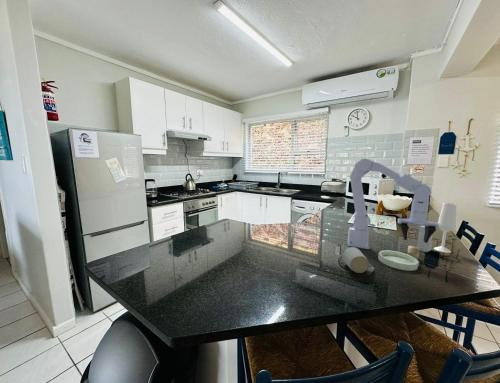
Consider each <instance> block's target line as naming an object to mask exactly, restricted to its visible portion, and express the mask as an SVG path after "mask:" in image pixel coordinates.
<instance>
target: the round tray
mask: <svg viewBox="0 0 500 383" xmlns="http://www.w3.org/2000/svg"><path fill="white" fill-rule="evenodd" d="M377 257H378V258H377V259H378V261H379V262H380V263H381V264H383V265H385V266H387V267H390V268H392V269H397V270H399V271H400V270H401V271H405V272H407V271H408V272H411V271H412V272H413V271H414V272H415V271H417V270H418V268H419V264H420V261H419V259H418V260H417V259H416V258H414V257H412V256H410V255H408V254H407V253H404V252H401V251H397V250H389V249H387V250H380V251H379V252H378V254H377Z"/></svg>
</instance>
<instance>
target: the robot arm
mask: <svg viewBox="0 0 500 383" xmlns="http://www.w3.org/2000/svg"><path fill="white" fill-rule="evenodd" d="M370 171H371V172H377V173H378V172H379V173H381V174H383V175H384V176H386V177H388V178H390V179H392V180H394V181H395V184H396V186H398V187H400V188H401V189H404V190H406V191H408V192H410V193H413V199H412V200H411V209H410V214H409V218H397V224H399V225H400V228H401V231H402V237H403V240H404V241H407V240H408V231H409V229H410V226H409V225H412V226H413V225H414V226H419V227H420V226H425V235H424V242H425V243H427V242H428V240H429V238H430V237H431V235H432V234H433V235H434V233H435V232H436V231H437V228H438V229H439V223H438V221H428V220H427V218H428V211H429V204H430V202H429V200H430V196H431V195H432V189H431V188H430V186H429V185H427V184H426V183H423V181H422V180H418V179H416V178H414V177H412V174H406V173H402V174H399V173H397V172H396V171H395V170H392V169H391V168H389V167H388V166H386V165H384V164H381V163H379V162H377V161H374V160H372V159H369V158H361V159H359V160H358V161H357V162H356V163H355V164H354V167H353V169H352V171H351V174H350V176H349V180H350V185H351V186H350V187H351V193H352V200H353V206H354V220H353V227H351V226H350V227H349V228H348V232H347V234H348V235H347V236H348V237H347V239H346V240H347V245H348V247H355V248H358V249H365V250H370V246H369V237H370V228H369V225H370V224H371V218H370V216H369V215H368V211H367V209H366V201H365V195H364V190H363V189H364V188H363V182H362V178H364V177H365V175H366V174H368V173H370Z"/></svg>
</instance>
